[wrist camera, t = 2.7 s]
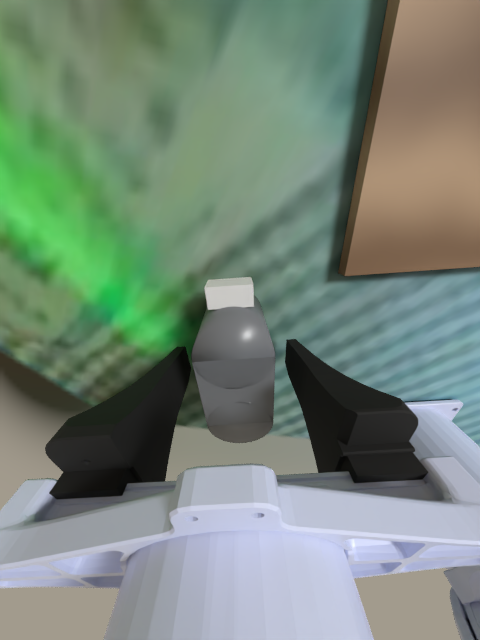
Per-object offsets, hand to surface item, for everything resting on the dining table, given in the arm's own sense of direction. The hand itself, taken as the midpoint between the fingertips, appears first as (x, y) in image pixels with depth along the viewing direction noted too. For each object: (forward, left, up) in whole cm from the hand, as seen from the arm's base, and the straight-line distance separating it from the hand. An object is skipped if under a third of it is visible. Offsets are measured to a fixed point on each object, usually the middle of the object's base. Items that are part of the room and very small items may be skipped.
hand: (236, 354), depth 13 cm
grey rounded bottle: (0, 0, -1) cm, 1 cm away
